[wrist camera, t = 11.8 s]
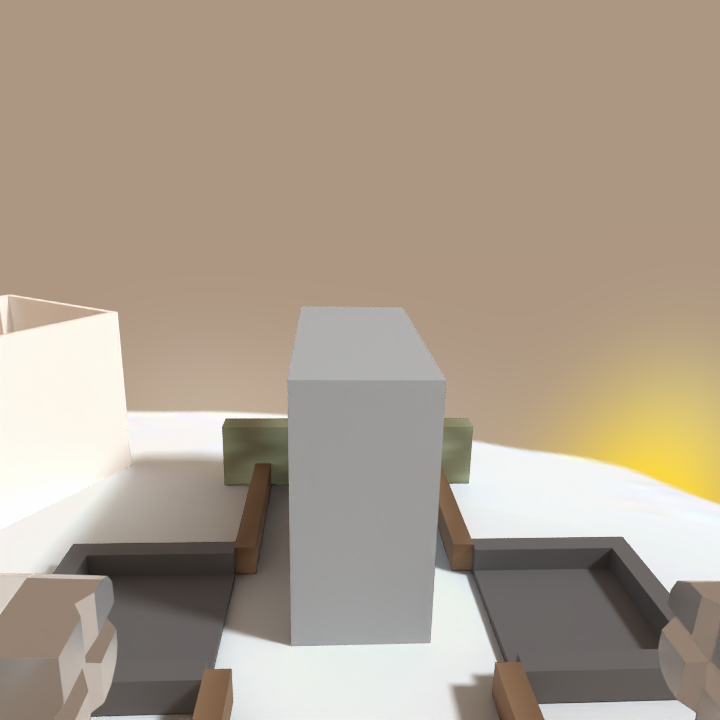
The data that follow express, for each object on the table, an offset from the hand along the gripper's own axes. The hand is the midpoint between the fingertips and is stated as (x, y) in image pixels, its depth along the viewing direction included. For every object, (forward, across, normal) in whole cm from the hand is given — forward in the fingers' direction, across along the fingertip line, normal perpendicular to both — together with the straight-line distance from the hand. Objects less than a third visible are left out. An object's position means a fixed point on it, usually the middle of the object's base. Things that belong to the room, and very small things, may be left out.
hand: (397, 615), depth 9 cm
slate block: (+21, -1, +14) cm, 25 cm away
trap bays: (+15, -1, +13) cm, 20 cm away
